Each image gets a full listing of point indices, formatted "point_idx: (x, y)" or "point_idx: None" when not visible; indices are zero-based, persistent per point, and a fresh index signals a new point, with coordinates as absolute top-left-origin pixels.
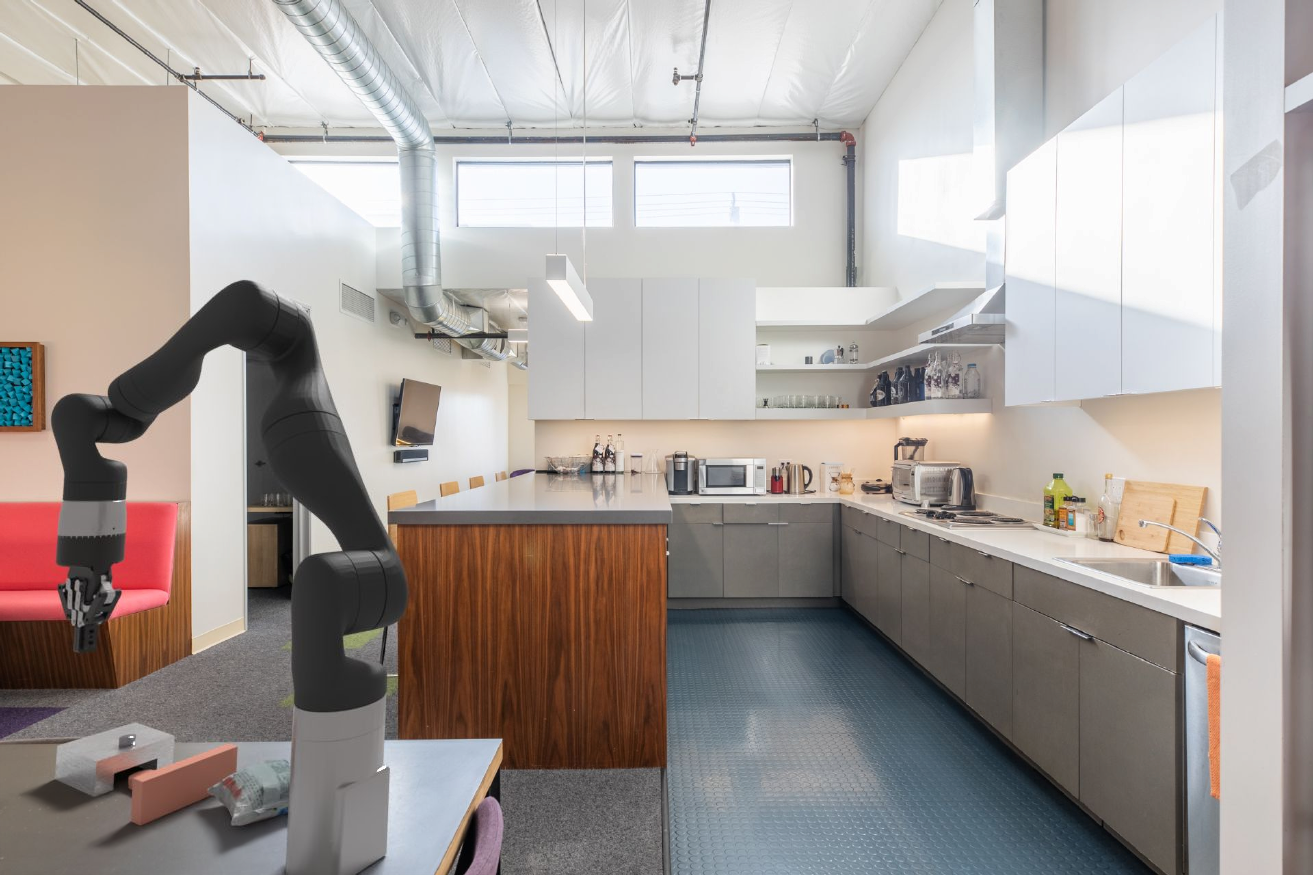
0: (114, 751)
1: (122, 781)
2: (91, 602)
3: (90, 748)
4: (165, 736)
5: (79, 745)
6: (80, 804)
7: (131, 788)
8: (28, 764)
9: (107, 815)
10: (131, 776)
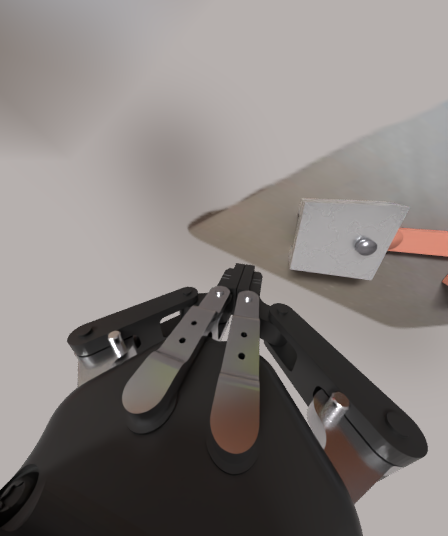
0: (367, 261)
1: None
2: (213, 334)
3: (331, 264)
4: (396, 213)
5: (310, 262)
6: None
7: None
8: (238, 248)
9: (405, 280)
10: None
